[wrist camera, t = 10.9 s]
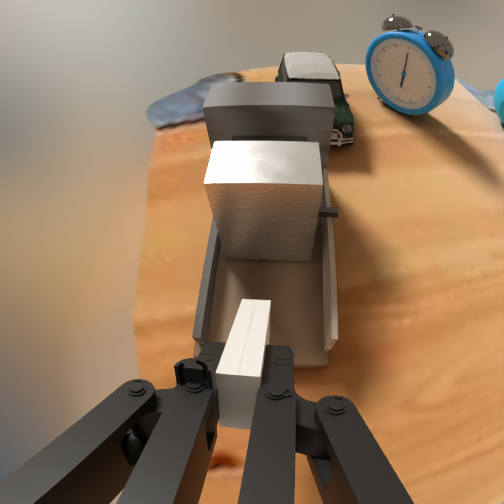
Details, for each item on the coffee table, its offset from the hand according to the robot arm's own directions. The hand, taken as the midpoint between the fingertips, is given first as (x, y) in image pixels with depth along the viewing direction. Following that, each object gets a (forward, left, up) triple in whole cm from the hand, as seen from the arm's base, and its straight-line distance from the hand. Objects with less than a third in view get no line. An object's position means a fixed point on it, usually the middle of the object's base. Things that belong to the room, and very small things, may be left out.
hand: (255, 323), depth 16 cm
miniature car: (-5, -32, -9) cm, 33 cm away
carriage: (-1, -9, -6) cm, 11 cm away
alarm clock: (-20, -37, -8) cm, 43 cm away
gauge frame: (0, -9, -8) cm, 12 cm away
